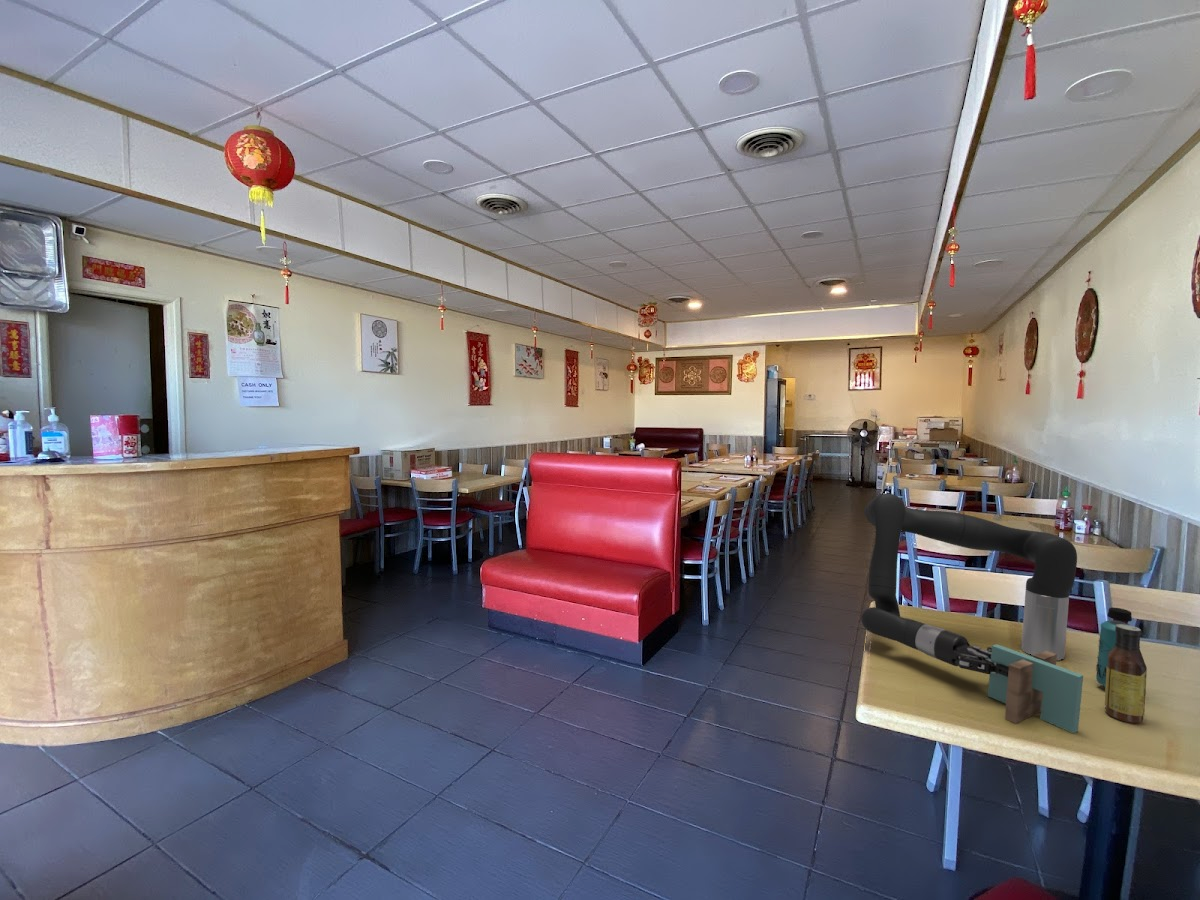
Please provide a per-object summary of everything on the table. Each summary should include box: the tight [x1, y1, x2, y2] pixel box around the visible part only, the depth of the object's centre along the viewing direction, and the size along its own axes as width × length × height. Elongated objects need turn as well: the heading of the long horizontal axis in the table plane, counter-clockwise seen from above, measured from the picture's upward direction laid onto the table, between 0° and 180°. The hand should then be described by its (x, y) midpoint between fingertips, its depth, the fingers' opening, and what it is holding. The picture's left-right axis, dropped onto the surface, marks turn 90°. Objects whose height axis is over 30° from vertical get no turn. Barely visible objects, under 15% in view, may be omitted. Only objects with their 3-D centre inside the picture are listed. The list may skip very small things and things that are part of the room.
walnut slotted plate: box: [1004, 651, 1057, 724], centre depth 118 cm, size 16×2×12 cm, turn 118°
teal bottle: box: [1095, 607, 1133, 687], centre depth 128 cm, size 6×7×20 cm
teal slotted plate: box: [987, 643, 1084, 734], centre depth 118 cm, size 16×2×12 cm, turn 28°
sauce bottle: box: [1104, 624, 1148, 724], centre depth 117 cm, size 7×6×20 cm
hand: (1020, 674), depth 120 cm, fingers closed on teal slotted plate, 2 cm apart
